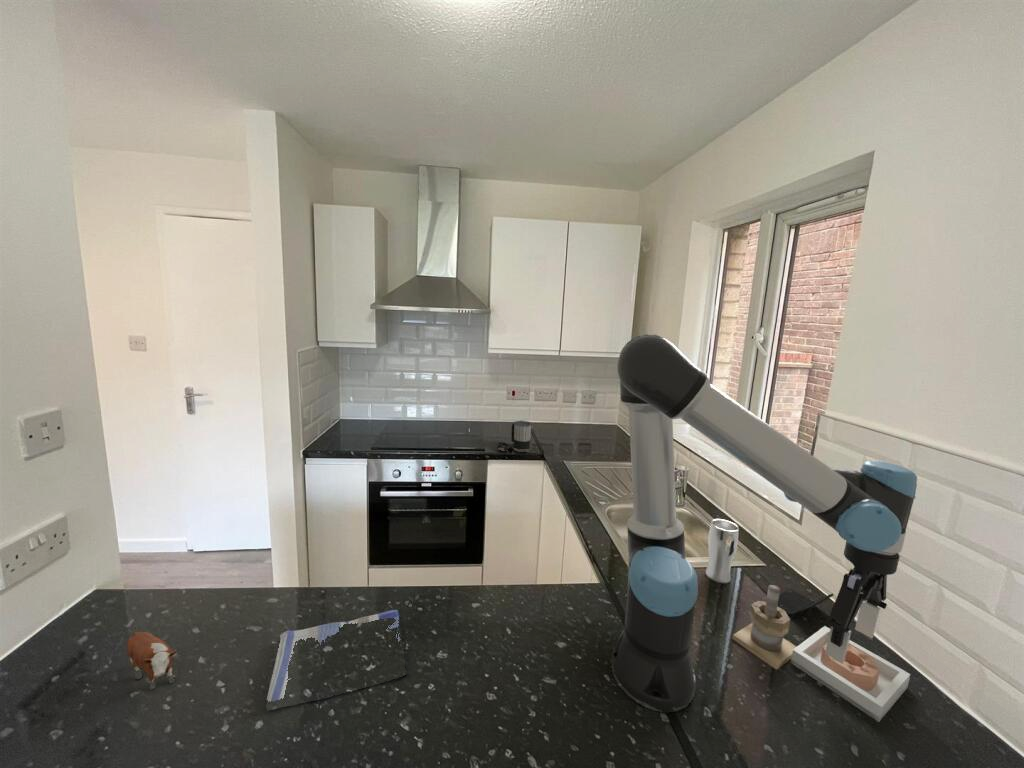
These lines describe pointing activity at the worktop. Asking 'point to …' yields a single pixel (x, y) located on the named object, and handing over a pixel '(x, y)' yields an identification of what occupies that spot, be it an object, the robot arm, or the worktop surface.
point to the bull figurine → (150, 654)
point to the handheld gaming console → (797, 602)
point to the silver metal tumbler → (721, 549)
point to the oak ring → (769, 620)
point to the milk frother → (520, 435)
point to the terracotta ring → (854, 668)
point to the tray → (870, 702)
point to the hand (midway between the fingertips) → (849, 645)
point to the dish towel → (319, 634)
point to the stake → (766, 636)
